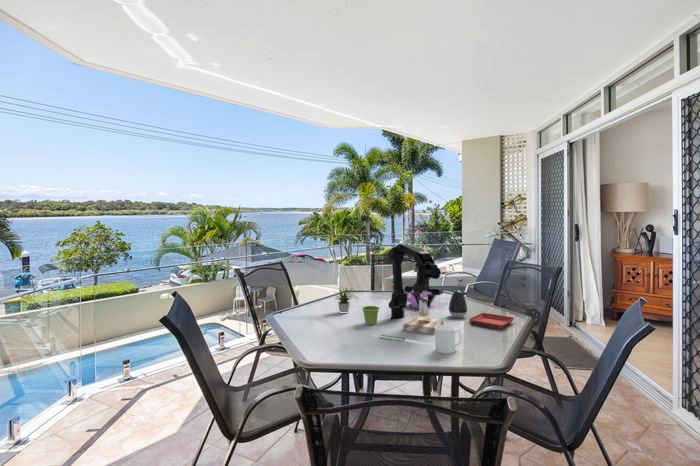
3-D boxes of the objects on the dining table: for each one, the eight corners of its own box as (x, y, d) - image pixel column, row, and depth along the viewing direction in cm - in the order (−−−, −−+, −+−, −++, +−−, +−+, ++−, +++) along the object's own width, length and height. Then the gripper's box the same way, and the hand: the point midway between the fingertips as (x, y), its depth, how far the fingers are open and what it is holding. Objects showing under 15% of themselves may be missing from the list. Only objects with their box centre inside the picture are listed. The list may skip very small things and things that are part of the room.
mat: (379, 337, 180) (379, 336, 180) (389, 331, 190) (388, 329, 190) (402, 341, 174) (402, 340, 174) (411, 334, 185) (411, 333, 185)
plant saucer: (468, 324, 200) (468, 318, 200) (482, 317, 213) (482, 312, 213) (502, 331, 188) (502, 325, 188) (515, 323, 201) (515, 317, 201)
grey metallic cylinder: (417, 314, 191) (416, 298, 191) (421, 312, 195) (421, 296, 195) (426, 316, 188) (426, 299, 188) (430, 314, 192) (430, 297, 192)
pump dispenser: (468, 319, 209) (468, 292, 208) (449, 318, 211) (449, 292, 210) (466, 314, 219) (466, 289, 218) (448, 314, 221) (448, 288, 220)
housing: (403, 331, 189) (403, 323, 189) (414, 323, 203) (414, 316, 203) (434, 336, 181) (434, 328, 181) (443, 327, 195) (443, 319, 195)
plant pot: (383, 323, 204) (382, 307, 204) (372, 327, 198) (371, 310, 197) (369, 320, 211) (369, 305, 211) (358, 324, 204) (358, 308, 204)
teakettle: (419, 302, 254) (419, 283, 254) (439, 306, 241) (439, 287, 241) (401, 305, 244) (401, 287, 243) (422, 310, 231) (421, 290, 230)
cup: (431, 348, 164) (431, 325, 164) (456, 345, 167) (456, 323, 167) (441, 355, 156) (441, 331, 156) (466, 352, 159) (466, 328, 159)
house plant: (362, 311, 231) (361, 285, 230) (350, 316, 219) (349, 289, 219) (342, 308, 239) (342, 283, 238) (330, 313, 227) (329, 286, 226)
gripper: (399, 277, 189) (400, 307, 190) (434, 280, 179) (435, 312, 179) (409, 274, 199) (409, 303, 199) (443, 276, 188) (443, 307, 189)
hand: (423, 306), depth 191 cm, fingers closed on grey metallic cylinder, 5 cm apart
